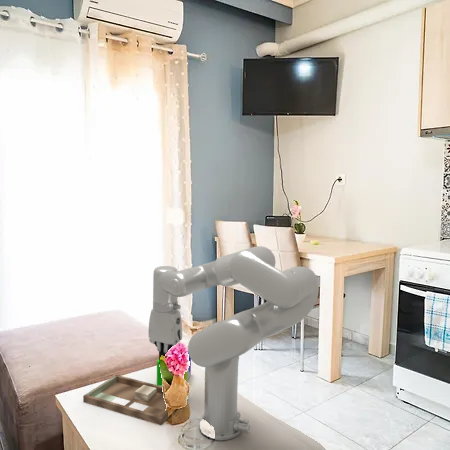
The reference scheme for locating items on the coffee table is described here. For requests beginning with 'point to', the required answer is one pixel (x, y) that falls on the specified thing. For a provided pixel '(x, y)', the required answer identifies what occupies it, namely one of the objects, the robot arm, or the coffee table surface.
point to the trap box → (126, 390)
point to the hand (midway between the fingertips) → (164, 362)
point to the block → (145, 393)
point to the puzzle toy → (159, 379)
